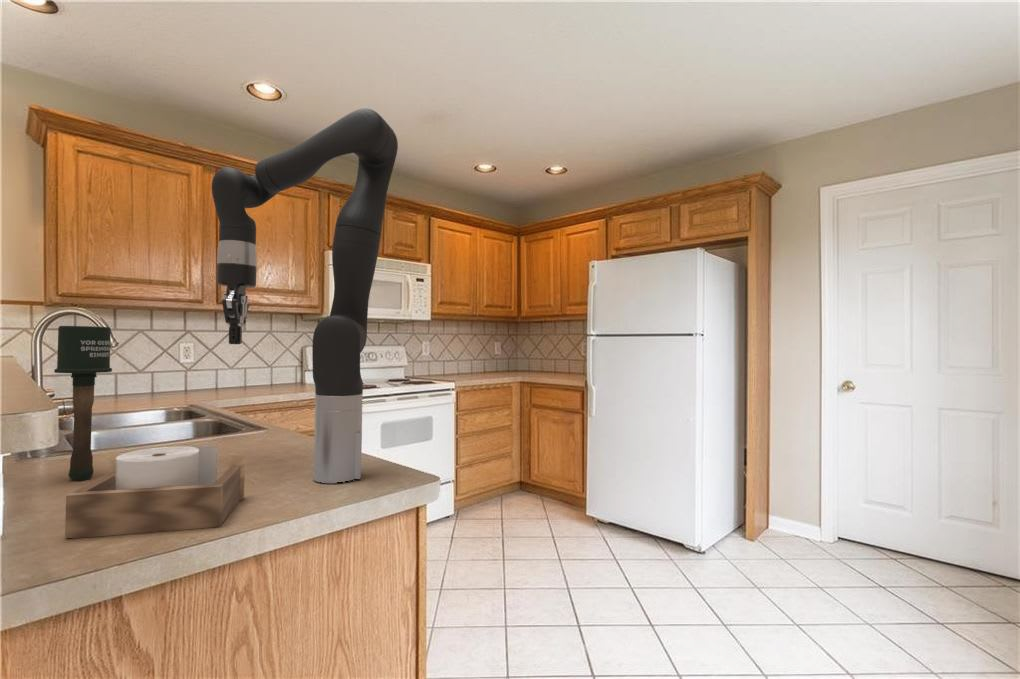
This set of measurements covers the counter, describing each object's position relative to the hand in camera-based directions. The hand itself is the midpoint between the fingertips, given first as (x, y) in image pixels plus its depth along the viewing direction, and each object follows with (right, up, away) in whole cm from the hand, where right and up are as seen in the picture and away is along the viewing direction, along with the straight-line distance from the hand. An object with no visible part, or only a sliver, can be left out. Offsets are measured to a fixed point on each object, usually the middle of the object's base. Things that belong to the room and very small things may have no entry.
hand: (235, 344), depth 106 cm
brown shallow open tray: (+5, -27, -29) cm, 40 cm away
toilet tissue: (+4, -27, -28) cm, 39 cm away
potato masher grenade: (-25, -27, -10) cm, 38 cm away
